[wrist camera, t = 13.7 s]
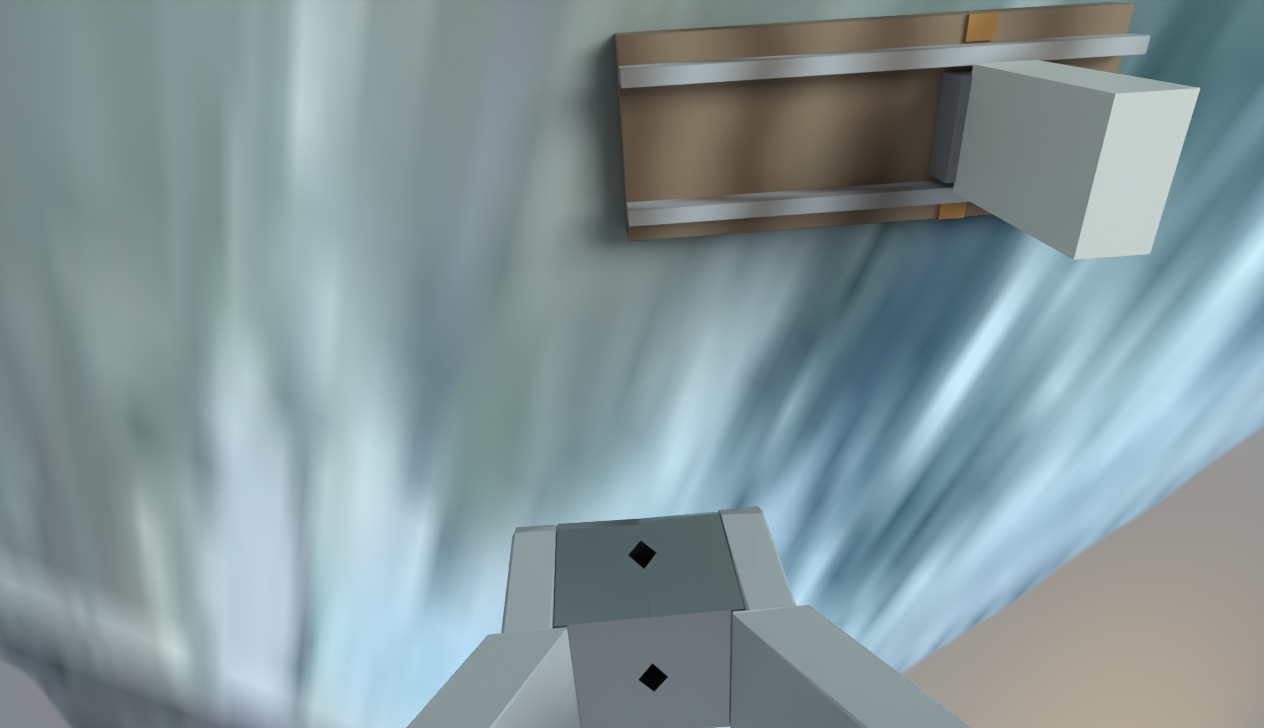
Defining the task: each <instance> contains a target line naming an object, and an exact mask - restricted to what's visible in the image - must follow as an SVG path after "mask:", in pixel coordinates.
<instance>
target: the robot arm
mask: <svg viewBox="0 0 1264 728" xmlns="http://www.w3.org/2000/svg"><path fill="white" fill-rule="evenodd" d="M715 727H730V728H971V727H969V726H968V725H967V724H965V723H964V722H963V721H961V720H960V719H959V718H957V717H956V716H955V715H954V714H952V713H951V712H950V711H948V710H947V709H946V708H944V707H943V706H942V705H940V704H939V703H938V702H936V701H935V700H934V699H932V698H931V697H930V696H929V695H927V694H926V693H925V692H923V691H922V690H921V689H919V688H918V687H917V686H915V685H914V684H913V683H911V682H910V681H909V680H907V679H906V678H905V677H903V676H902V675H901V674H900V673H898V672H897V671H896V670H894V669H893V668H892V667H890V666H889V665H888V664H886V663H885V662H884V661H882V660H881V659H880V658H878V657H877V656H876V655H874V654H873V653H872V652H870V651H869V650H868V649H867V648H865V647H864V646H863V645H861V644H860V643H859V642H857V641H856V640H855V639H853V638H852V637H851V636H849V635H848V634H847V633H845V632H844V631H843V630H841V629H840V628H839V627H838V626H836V625H835V624H834V623H832V622H831V621H830V620H828V619H827V618H826V617H824V616H823V615H822V614H820V613H819V612H818V611H816V610H815V609H814V608H812V607H811V606H810V605H803V606H796V603H795V601H794V598H793V595H792V592H791V589H790V587H789V584H788V581H787V578H786V575H785V573H784V570H783V567H782V564H781V561H780V559H779V556H778V553H777V550H776V547H775V545H774V542H773V539H772V536H771V533H770V531H769V528H768V525H767V522H766V519H765V517H764V514H763V511H762V510H761V509H760V508H759V507H758V506H755V507H746V508H736V509H727V510H718V512H706V513H695V514H685V515H674V516H664V517H653V518H642V519H627V520H612V521H596V522H581V523H565V524H558V526H557V525H545V526H530V527H517V528H516V530H515V532H514V534H513V537H512V545H511V554H510V563H509V571H508V580H507V589H506V597H505V606H504V614H503V623H502V632H501V633H500V634H491V635H488V636H487V637H486V638H485V639H484V640H483V641H482V643H481V644H480V645H479V646H478V647H477V648H476V649H475V650H474V652H473V653H472V654H471V655H470V656H469V657H468V658H467V660H466V661H465V662H464V663H463V664H462V665H461V666H460V668H459V669H458V670H457V671H456V672H455V673H454V674H453V675H452V677H451V678H450V679H449V680H448V681H447V682H446V683H445V685H444V686H443V687H442V688H441V689H440V690H439V691H438V693H437V694H436V695H435V696H434V697H433V698H432V699H431V700H430V702H429V703H428V704H427V705H426V706H425V707H424V708H423V710H422V711H421V712H420V713H419V714H418V715H417V716H416V718H415V719H414V720H413V721H412V722H411V723H410V724H409V725H408V727H407V728H715Z"/></svg>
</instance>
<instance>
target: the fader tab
mask: <svg viewBox="0 0 1264 728" xmlns="http://www.w3.org/2000/svg"><path fill="white" fill-rule="evenodd" d="M1199 91H1200V88H1197V87H1191V86H1186V85H1180V84H1174V83H1168V82H1162V81H1156V80H1151V79H1145V78H1139V77H1133V76H1127V75H1122V74H1116V73H1110V72H1104V71H1098V70H1092V69H1087V68H1081V67H1075V66H1069V65H1063V64H1058V63H1052V62H1046V61H1040V60H1026V61H1011V62H996V63H981V64H973V69H972V70H960V71H945V72H943V73H942V80H941V87H940V94H939V102H938V109H937V116H936V123H935V130H934V137H933V144H932V151H931V158H930V165H929V172H928V174H930V175H931V176H933V177H935V178H937V179H939V180H941V181H942V182H944V183H954V188H953V192H954V193H956V194H957V195H959V196H961V197H963V198H965V199H966V200H968V201H970V202H972V203H973V204H975V205H977V206H979V207H981V208H982V209H984V210H986V211H988V212H990V213H991V214H993V215H995V216H997V217H998V218H1000V219H1002V220H1004V221H1006V222H1007V223H1009V224H1011V225H1013V226H1015V227H1016V228H1018V229H1020V230H1022V231H1023V232H1025V233H1027V234H1029V235H1031V236H1032V237H1034V238H1036V239H1038V240H1040V241H1041V242H1043V243H1045V244H1047V245H1048V246H1050V247H1052V248H1054V249H1056V250H1057V251H1059V252H1061V253H1063V254H1065V255H1066V256H1068V257H1070V258H1072V259H1073V260H1076V259H1089V258H1102V257H1116V256H1129V255H1142V254H1150V252H1151V249H1152V245H1153V242H1154V239H1155V236H1156V232H1157V229H1158V226H1159V222H1160V219H1161V216H1162V212H1163V209H1164V206H1165V203H1166V199H1167V196H1168V193H1169V189H1170V186H1171V183H1172V179H1173V176H1174V173H1175V170H1176V166H1177V163H1178V160H1179V156H1180V153H1181V150H1182V147H1183V143H1184V140H1185V137H1186V133H1187V130H1188V127H1189V123H1190V120H1191V117H1192V114H1193V110H1194V107H1195V104H1196V100H1197V97H1198V94H1199Z"/></svg>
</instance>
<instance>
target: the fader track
mask: <svg viewBox="0 0 1264 728" xmlns="http://www.w3.org/2000/svg"><path fill="white" fill-rule="evenodd" d="M1134 5H1135V3H1112V2H1105V3H1089V4H1073V5H1058V6H1042V7H1026V8H1010V9H994V10H978V11H963V12H947V13H931V14H915V15H899V16H884V17H868V18H852V19H836V20H820V21H804V22H789V23H773V24H757V25H741V26H725V27H710V28H694V29H678V30H662V31H646V32H630V33H615V45H616V62H617V79H618V96H619V113H620V130H621V147H622V164H623V181H624V198H625V215H626V231H627V235H628V240H629V241H638V240H651V239H665V238H679V237H692V236H706V235H719V234H733V233H746V232H760V231H774V230H787V229H801V228H814V227H828V226H841V225H855V224H869V223H882V222H896V221H909V220H923V219H936V218H937V219H953V218H964V216H977V215H991V213H990V212H988V211H986V210H984V209H982V208H981V207H979V206H977V205H975V204H973V203H972V202H970V201H968V200H966V199H965V198H963V197H961V196H959V195H957V194H956V193H954V192H953V188H954V183H944V182H942V181H941V180H939V179H937V178H935V177H933V176H931V175H930V174H928V172H929V165H930V158H931V151H932V144H933V137H934V130H935V123H936V116H937V109H938V102H939V94H940V87H941V80H942V73H943V72H945V71H960V70H972V69H973V64H981V63H996V62H1011V61H1026V60H1040V61H1046V62H1052V63H1058V64H1063V65H1069V66H1075V67H1081V68H1087V69H1092V70H1098V71H1104V72H1110V73H1116V74H1117V73H1118V69H1119V65H1120V61H1121V57H1122V55H1134V54H1146V51H1147V47H1148V43H1149V39H1150V36H1151V35H1142V34H1132V33H1128V29H1129V25H1130V21H1131V17H1132V13H1133V9H1134Z"/></svg>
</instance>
